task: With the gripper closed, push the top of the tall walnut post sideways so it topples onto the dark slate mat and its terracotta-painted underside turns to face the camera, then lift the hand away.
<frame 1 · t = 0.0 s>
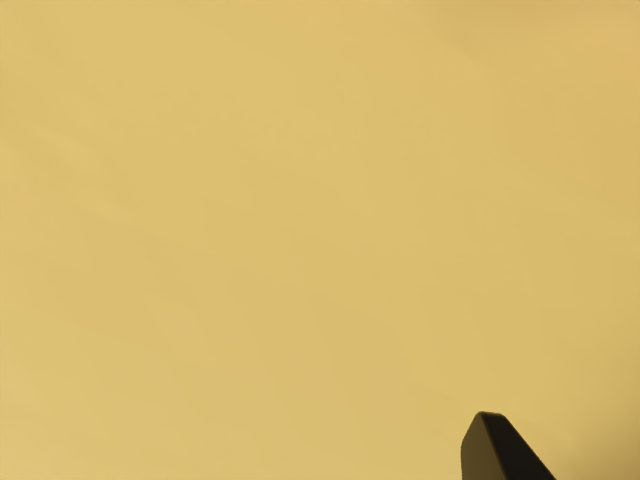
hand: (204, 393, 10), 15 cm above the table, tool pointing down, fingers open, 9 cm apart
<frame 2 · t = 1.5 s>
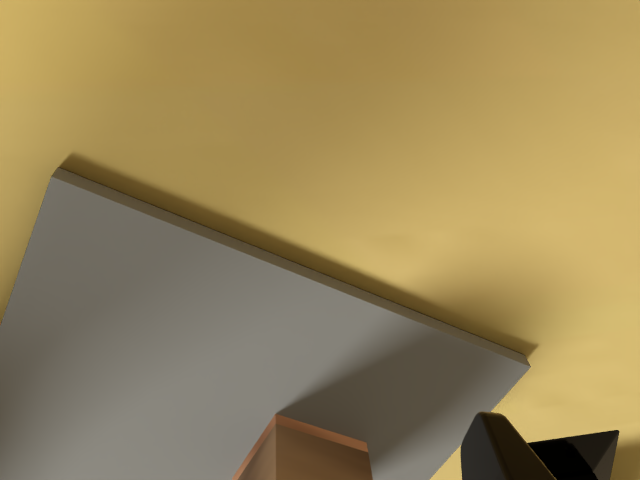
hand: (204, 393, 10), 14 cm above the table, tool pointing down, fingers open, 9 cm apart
slate mat: (225, 425, 30), on the table
walnut post: (298, 460, 30), point 1 cm above the table, touching slate mat
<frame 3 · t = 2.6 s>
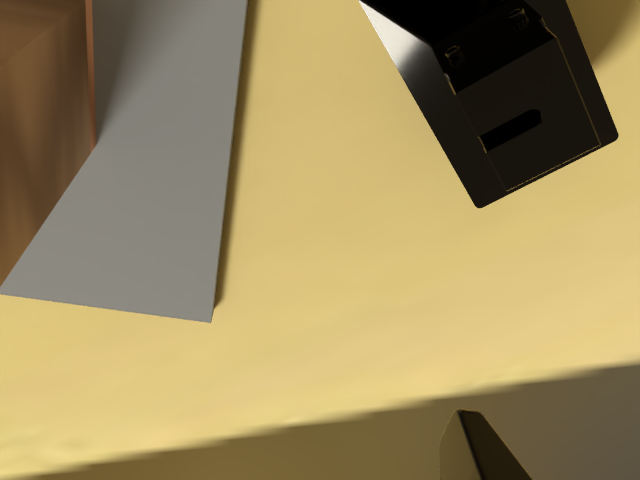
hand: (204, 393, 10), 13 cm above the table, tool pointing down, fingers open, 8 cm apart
walnut post: (12, 60, 19), point 1 cm above the table, touching slate mat
black mounting bracket: (490, 63, 21), on the table
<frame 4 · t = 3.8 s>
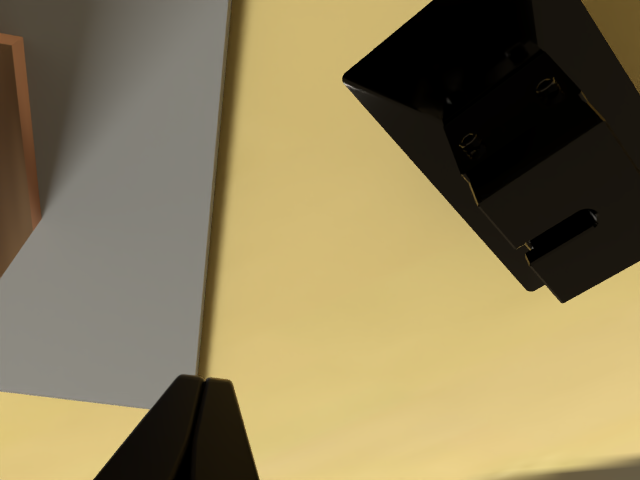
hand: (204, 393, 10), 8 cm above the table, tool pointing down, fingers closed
black mounting bracket: (522, 126, 17), on the table
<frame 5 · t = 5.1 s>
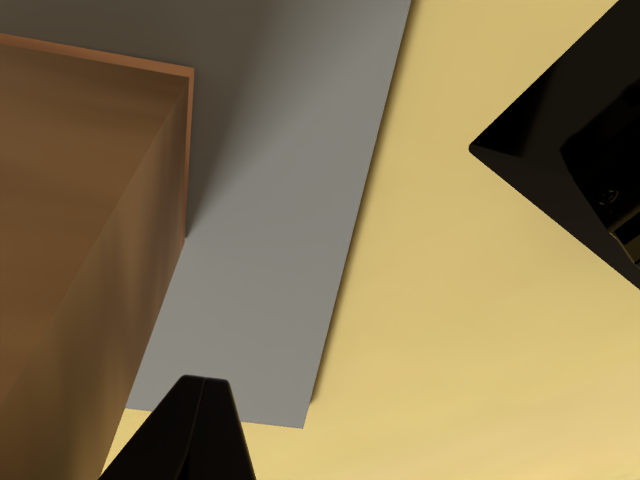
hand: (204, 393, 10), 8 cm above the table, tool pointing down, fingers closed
walnut post: (88, 146, 15), point 1 cm above the table, touching gripper, slate mat
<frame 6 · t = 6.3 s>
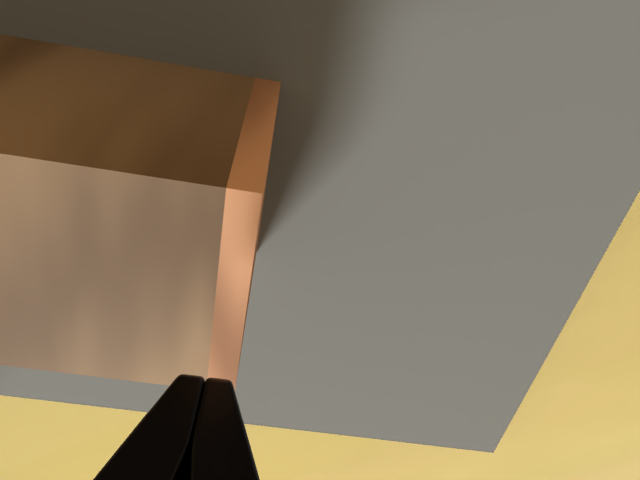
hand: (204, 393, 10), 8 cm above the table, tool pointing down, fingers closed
slate mat: (214, 151, 16), on the table
walnut post: (258, 230, 13), point 3 cm above the table, tilted 90°, touching slate mat
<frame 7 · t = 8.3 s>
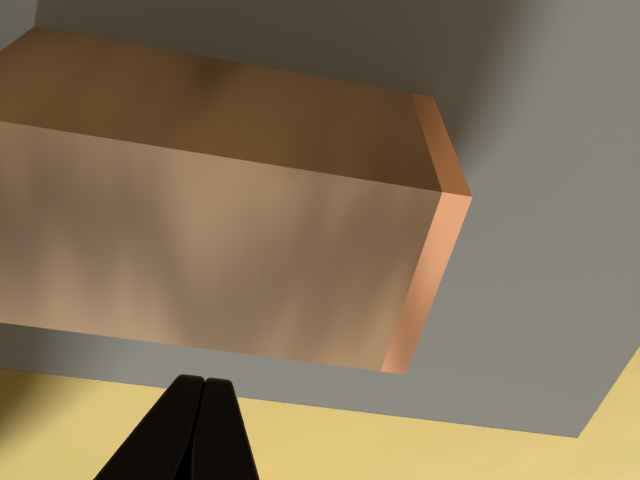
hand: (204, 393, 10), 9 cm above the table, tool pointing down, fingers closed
slate mat: (355, 158, 18), on the table
walnut post: (419, 229, 15), point 3 cm above the table, tilted 90°, touching slate mat
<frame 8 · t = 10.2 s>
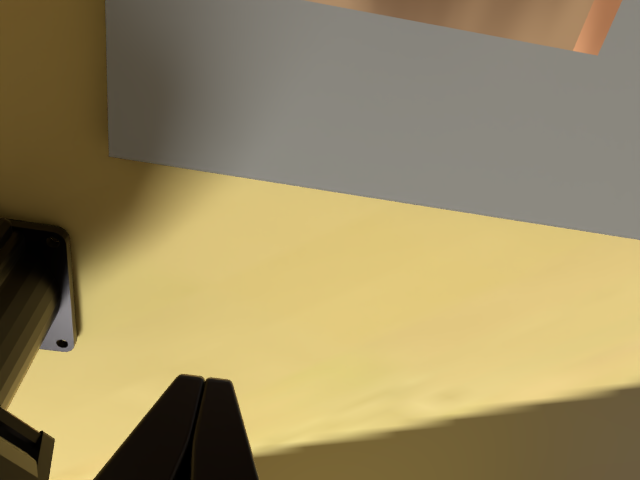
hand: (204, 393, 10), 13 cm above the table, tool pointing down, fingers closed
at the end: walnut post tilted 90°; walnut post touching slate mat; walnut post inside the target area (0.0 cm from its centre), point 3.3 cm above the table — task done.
